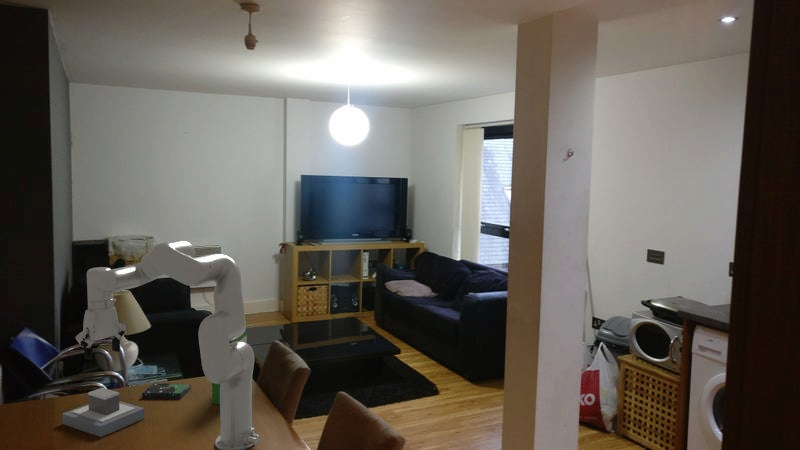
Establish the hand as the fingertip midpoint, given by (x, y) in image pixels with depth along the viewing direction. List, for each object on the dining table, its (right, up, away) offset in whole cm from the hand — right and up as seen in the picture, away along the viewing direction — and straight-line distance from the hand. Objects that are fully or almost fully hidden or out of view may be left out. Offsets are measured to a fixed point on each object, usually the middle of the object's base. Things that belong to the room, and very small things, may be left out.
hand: (102, 354), depth 184 cm
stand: (0, -23, +2) cm, 23 cm away
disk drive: (+10, -22, +27) cm, 36 cm away
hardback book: (+35, -22, +26) cm, 49 cm away
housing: (0, -19, +1) cm, 19 cm away
